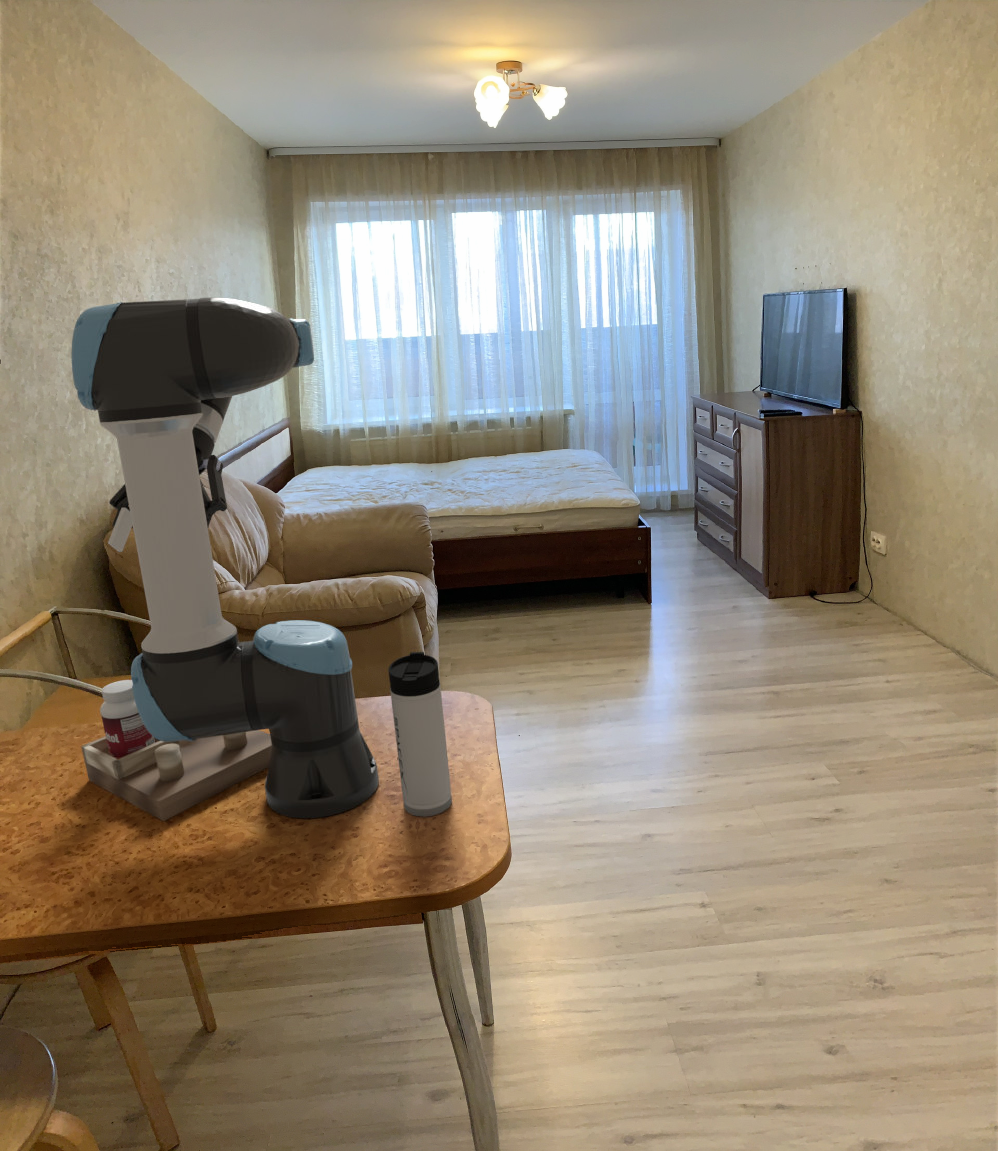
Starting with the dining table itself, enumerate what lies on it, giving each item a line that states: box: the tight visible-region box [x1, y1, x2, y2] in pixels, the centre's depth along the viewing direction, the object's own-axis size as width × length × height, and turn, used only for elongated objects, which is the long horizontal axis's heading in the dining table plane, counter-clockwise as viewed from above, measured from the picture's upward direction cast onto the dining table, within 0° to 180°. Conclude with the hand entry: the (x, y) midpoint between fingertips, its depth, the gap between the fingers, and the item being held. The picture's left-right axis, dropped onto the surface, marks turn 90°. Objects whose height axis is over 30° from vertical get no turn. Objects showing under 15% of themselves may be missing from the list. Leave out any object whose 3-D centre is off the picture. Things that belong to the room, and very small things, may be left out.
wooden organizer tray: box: [80, 730, 272, 822], centre depth 128 cm, size 20×20×7 cm
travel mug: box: [388, 651, 453, 818], centre depth 112 cm, size 6×7×20 cm
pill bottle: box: [99, 679, 155, 759], centre depth 126 cm, size 6×6×11 cm
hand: (151, 547), depth 137 cm, fingers open, 13 cm apart
